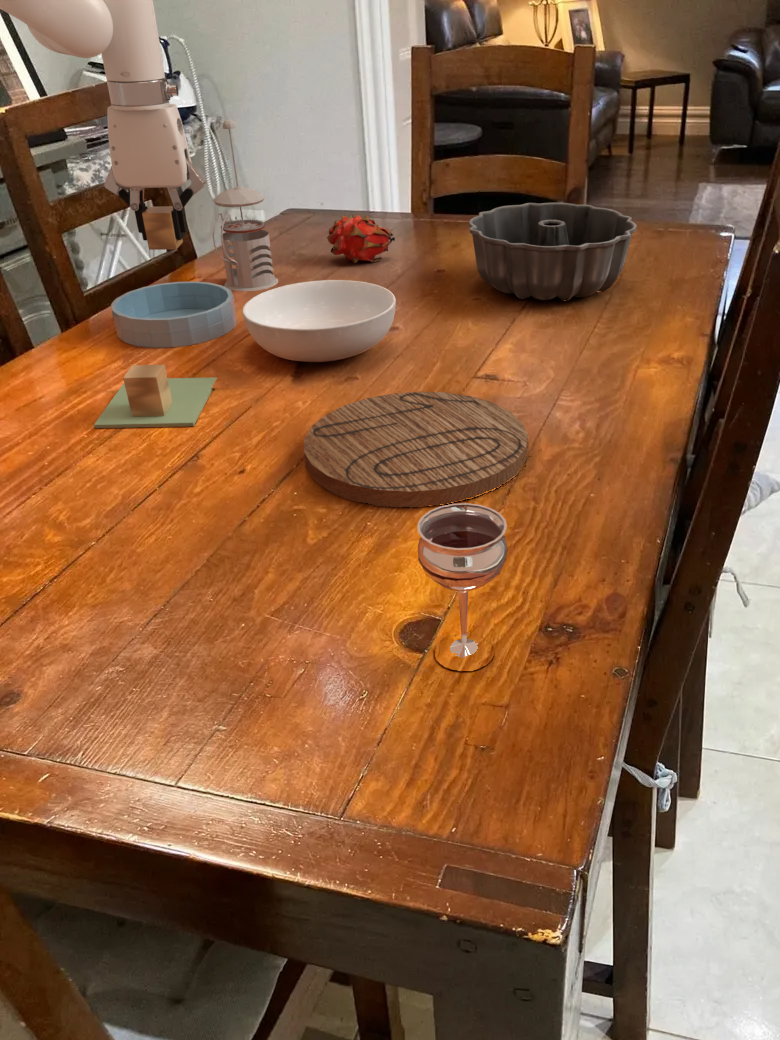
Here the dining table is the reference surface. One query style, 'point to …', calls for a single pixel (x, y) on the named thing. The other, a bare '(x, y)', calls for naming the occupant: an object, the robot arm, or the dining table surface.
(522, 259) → the bundt pan
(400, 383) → the dining table surface
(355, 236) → the dragon fruit
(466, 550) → the wineglass
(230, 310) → the pan
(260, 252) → the french press
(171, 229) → the block back
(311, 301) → the serving bowl
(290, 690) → the dining table surface
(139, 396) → the block front
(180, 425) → the mat
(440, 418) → the trivet
